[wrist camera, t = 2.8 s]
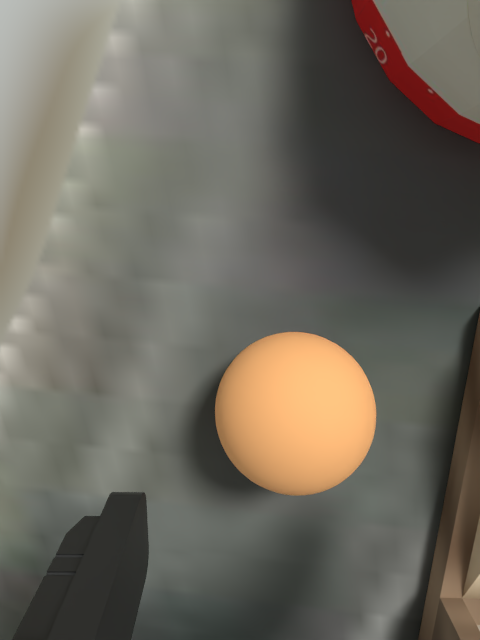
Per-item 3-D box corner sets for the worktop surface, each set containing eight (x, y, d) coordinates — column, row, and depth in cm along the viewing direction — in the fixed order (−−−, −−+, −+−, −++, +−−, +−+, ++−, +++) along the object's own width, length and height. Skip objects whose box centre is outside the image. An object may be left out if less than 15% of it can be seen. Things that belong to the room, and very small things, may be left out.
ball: (220, 311, 16) (210, 364, 11) (360, 315, 16) (412, 370, 11) (217, 436, 17) (208, 532, 12) (346, 439, 17) (387, 536, 12)
